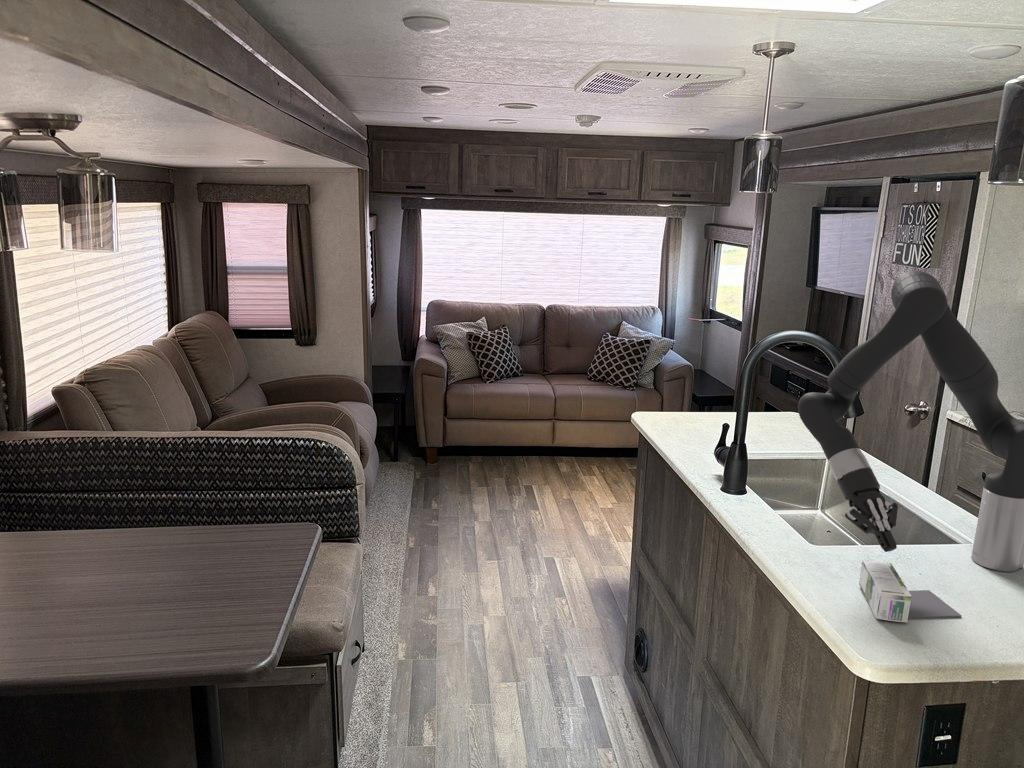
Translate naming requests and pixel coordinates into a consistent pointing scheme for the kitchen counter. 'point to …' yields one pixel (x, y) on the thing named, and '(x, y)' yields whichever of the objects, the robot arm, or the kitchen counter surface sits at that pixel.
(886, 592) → the syrup box
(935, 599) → the mat
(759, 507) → the kitchen counter surface
